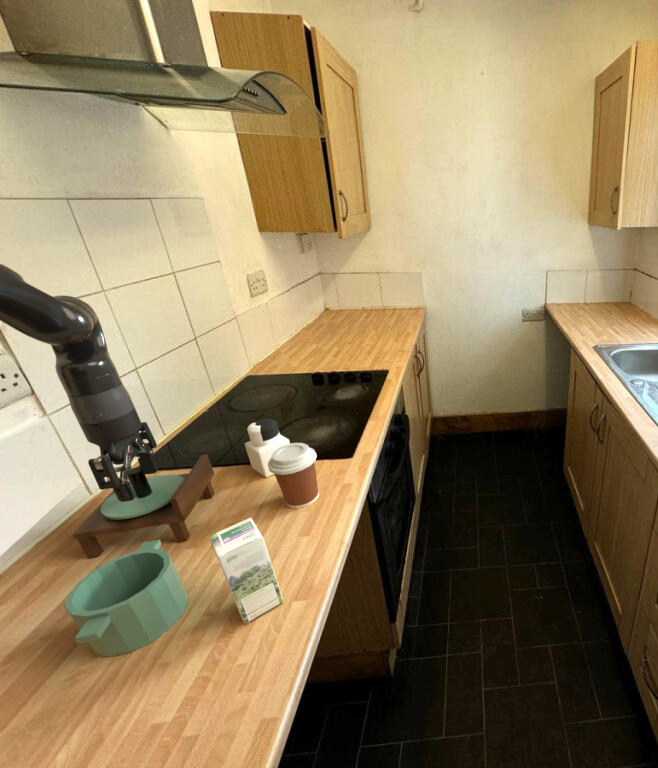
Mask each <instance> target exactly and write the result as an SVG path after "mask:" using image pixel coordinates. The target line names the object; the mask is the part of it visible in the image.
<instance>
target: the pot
mask: <svg viewBox="0 0 658 768" xmlns="http://www.w3.org/2000/svg"><path fill="white" fill-rule="evenodd" d="M161 546H162V541H161V539H156V540H149V541H145V542H142V543H141V544H140V546H139V547H138V549H137V550H134V551H131V552H129V553H126V554H122V555H120V556H118V557H115V558H113V559H111V560H109V561H106V562H105V563H103V564H102V565H100V566H98V567H96V568H95V569H93V570H92V571H90V572H89V573H88V574H86V575H85V576H84V577H83V578H81V579H80V580H79V581H78V582H77V583H76V584H75V586H74V587H73V588H72V589H71V590H70V592H69V593H68V594H67V595H66V600H65V604H64V609H65V610H66V612H67V613H68V615H69V617H70V619H72V621H73V623H74V624H75V626H76V628H77V629H78V633H77V634H76V636H75V637H74V640H75V642H76V643H77V644H82V643H87V644H88V646H89V647H90V648H91V649H92V651H93V652H94V653H95V654H96V655H98V656H102V657H117V656H122V655H126V654H129V653H131V652H135V651H137V650H139V649H141V648H144V647H145V646H147V645H149V644H151V643H152V642H154V641H156V640H157V639H159V638H160V637H161V636H163V635H164V634H166V633H167V632H168V631H169V630H170V629H171V628H172V627H173V626H174V625H175V624H176V623H177V622H178V621H179V619H181V617H182V615H183V614H184V612H185V611H186V610H187V609H186V608H187V606H188V603H189V595H188V592H187V589H186V587H185V584H184V583H183V581H182V579H181V576H180V574H179V572H178V570H177V568H176V566H175V563H174V562H173V559H172V556H171V555H170V554H169V553H167V551H165V550H163V549H160V548H161Z"/></svg>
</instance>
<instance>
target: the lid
mask: <svg viewBox="0 0 658 768" xmlns="http://www.w3.org/2000/svg"><path fill="white" fill-rule="evenodd" d="M179 475H180V474H173V473H172V474H171V473H168V474H167V473H166V474H159V475H154V476H150V477H147V476H146V474H144V471H143V469H142V468H141V466H136V467H133V468H132V467H131V469H130V470H129V471H128V480H127V481H129V482H130V485H131V487H132V489H133V492H134V494H135V496H136V497H135V498H134V499H133V500H132V501H125V502H121V501H119V500H118V498H117V496H116V494H115V493H114V494H112V495H111V496H110V497H108V496H107V497H108V498H107V497H106V498H107V499H106V498H105V499H106V500H105V499H104V500H105V502H104V503H103V504H102V506H101V513H102V515H103V516H104V517H106V518H108V519H114V520H120V519H129V518H134V517H138V516H141V515H144V514H147V513H150V512H152V511H155V510H157V509H159V508H161V507H163V506H165V505H167V504H168V503H170V498H171V497H172V496H173V494H174V493H175V491H176V490H177V489H178V487H179V486H180V485H181V483H182V482H183V480H184V478H183V477H181V476H179Z"/></svg>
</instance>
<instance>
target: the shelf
mask: <svg viewBox="0 0 658 768" xmlns="http://www.w3.org/2000/svg"><path fill="white" fill-rule="evenodd" d="M178 475H179V476H181V477H183V478H184V480H183V482H182V483H181V485H180V486H179V487H178V489H177V490H176V491H175V493H174V494H173V496H172V497H171V498H170V503H168V504H167V505H165V506H163V507H161V508H159V509H157V510H155V511H152V512H150V513H147V514H144V515H141V516H138V517H134V518H129V519H120V520H114V519H108V518H106V517H104V516H103V515H102V513H101V506H102V504H103V503H104V502H105V500H106V499H107V498H108V497H110V496H111V495H112V494H114V493H115V492H114V490H113V489H112V491H111V492H110V493H109V494H108V495H107V496H106V498H104V500H103V501H102V502H101V503H100V504H99V505H98V506H97V507H96V508H95V509H94V510H93V512H91V513H90V514H89V516H88V517H86V518H85V520H84V521H83V522H82V523H81V524H80V525H79V526H78V527H77V528H76V529H75V530H74V531H73V532H72V533H71V536H72V538H73V540H74V541H76V540H77V542H78V544H79V546H80V548H81V549H82V550H83V553H85V556H86V558H87V559H88V560H89V559H90V560H91V559H95V558H99V557H100V556H101V555H102V554H103V552H104V549H103V547H102V545H101V543H100V542H99V540H98V538H97V537H99V536H104V535H110V534H115V533H121V532H128V531H133V530H139V529H140V530H141V529H146V528H151V527H157V526H163V525H168V526H169V528H170V530H171V532H172V535H173V537H174V539H175V541H176V543H177V544H178V543H183V542H187V541H188V540H189V538H190V537H191V534H190V531H189V529H188V526H187V525H186V520H187V519H188V517H189V516H190V514H191V512H192V511H193V509H194V508H195V506H196V505H197V503H198V501H199V499H200V498H201V497H202V498H203V500H206V499H212V498H213V497H214V495H215V490H214V487H213V485H212V483H211V481H212V479H213V477H214V476H215V471H214V468H213V466H212V463H211V460H210V457H209V455H208V453H205V454H202V455H201V456H200V457H199V458H198V460H197V461H196V463H195V464H194V465H193V467H192V468H191V470H190V471H189V472H188V473H181V474H180V473H179V474H178ZM129 483H130V482H129Z"/></svg>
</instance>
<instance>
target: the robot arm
mask: <svg viewBox="0 0 658 768" xmlns="http://www.w3.org/2000/svg"><path fill="white" fill-rule="evenodd" d="M0 322H1V323H3V324H5V325H7V326H8V327H10V328H12V329H14V330H16V331H17V332H19V333H21V334H23V335H25V336H26V337H29V338H31V339H33V340H35V341H38V342H41V343H44V344H47V345H50V346H51V349H52V351H53V353H54V356H55V366H54V367H55V372H56V375H57V377H58V380H59V382H60V384H61V386H62V387H63V390H64V392H65V393H66V397H67V398H68V402H69V407H70V408H71V411H72V413H73V415H74V417H75V418H76V420H77V423H78V424H79V426H80V429H81V431H82V432H83V435H84V437H85V439H86V441H87V442H88V443H90V444H93V445H95V446H98V448H99V453H100V455H99V456H98V457H95V458H89V459H88V462H87V463H88V466H89V468H90V470H91V473H92V475H93V477H94V480H95V482H96V484H97V486H98V488H99V490H100V491H103V490H110V489H112V491H113V490H114V492H115V494H116V496H117V498H118V500H119V501H121V502H125V501H132V500H133V499H134V498H135V497H136V496H135V494H134V492H133V489H132V487H131V485H130V483H129V480H128V471H129V470H130V469H132V462H133V461H134V458H137V462H138V465H139V467H141V468H142V469H143V471H144V474H145V475H153V474H156V473H157V472H158V471H159V468H158V466H157V463H156V461H155V459H154V456H153V455H154V453H155V451H154V450H153V449H156V448H157V447H158V443H157V442H156V439H155V437H154V435H153V432H152V431H151V429H150V427H149V425H148V422H146V421H143V422H142V421H141V419H140V416H139V414H138V411H137V409H136V407H135V404H134V402H133V399H132V397H131V395H130V393H129V391H128V390H127V388H126V386H125V385H124V383H123V381H122V378H121V377H120V374H119V372H118V369H117V368H116V366H115V363H114V361H113V359H112V358H111V356H110V353H109V350H108V349H109V348H108V345H107V342H106V338H105V334H104V330H103V327H102V324H101V321H100V319H99V317H98V315H97V313H96V311H95V310H94V308H93V307H92V306H91V305H90V304H89V303H87V302H86V301H84V300H82V299H81V298H78V297H75V296H71V295H54V296H52V295H51V294H48V293H47V292H45V291H43V290H41V289H39V288H38V287H35V286H33V285H31V284H29V283H28V282H27V281H26V280H25V279H24V277H23V276H22V275H21V274H20V273H18V272H17V271H16V270H13V269H12V268H10V267H8V266H6V265H5V264H3V263H0ZM144 440H147V442H145V441H144ZM114 465H116V466H117V467H115V466H114ZM119 465H120V466H119ZM117 473H119V476H118V474H117ZM105 478H106V479H105Z"/></svg>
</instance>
